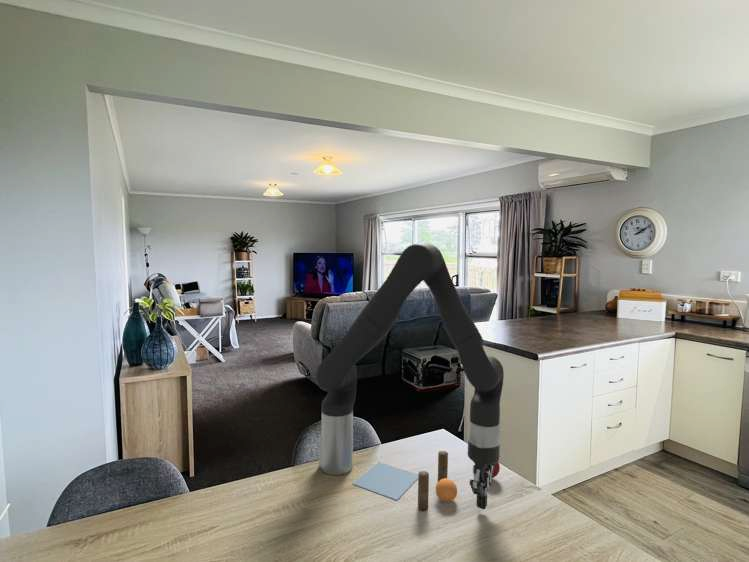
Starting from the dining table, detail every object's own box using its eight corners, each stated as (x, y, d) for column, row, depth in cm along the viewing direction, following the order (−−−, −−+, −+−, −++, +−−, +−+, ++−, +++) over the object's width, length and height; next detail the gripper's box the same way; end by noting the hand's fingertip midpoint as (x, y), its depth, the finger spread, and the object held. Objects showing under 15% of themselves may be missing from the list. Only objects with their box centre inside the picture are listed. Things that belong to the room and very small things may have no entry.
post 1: (416, 509, 105) (416, 474, 104) (420, 503, 107) (421, 469, 107) (425, 512, 104) (426, 477, 103) (429, 507, 106) (430, 472, 105)
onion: (500, 486, 116) (501, 458, 115) (478, 483, 117) (479, 455, 116) (498, 474, 121) (499, 448, 121) (477, 472, 123) (478, 446, 122)
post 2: (436, 485, 116) (436, 453, 115) (439, 480, 118) (440, 450, 117) (445, 488, 114) (445, 456, 114) (448, 483, 117) (449, 452, 116)
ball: (438, 479, 107) (456, 496, 104) (446, 470, 111) (464, 485, 109) (428, 494, 108) (445, 510, 106) (437, 484, 113) (453, 499, 111)
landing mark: (352, 484, 116) (352, 483, 116) (378, 462, 128) (378, 461, 128) (397, 500, 109) (397, 499, 109) (420, 475, 120) (420, 475, 120)
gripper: (477, 426, 110) (475, 489, 112) (459, 445, 99) (457, 516, 100) (506, 432, 106) (504, 498, 108) (491, 454, 95) (488, 527, 96)
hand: (481, 506), depth 104 cm, fingers closed
